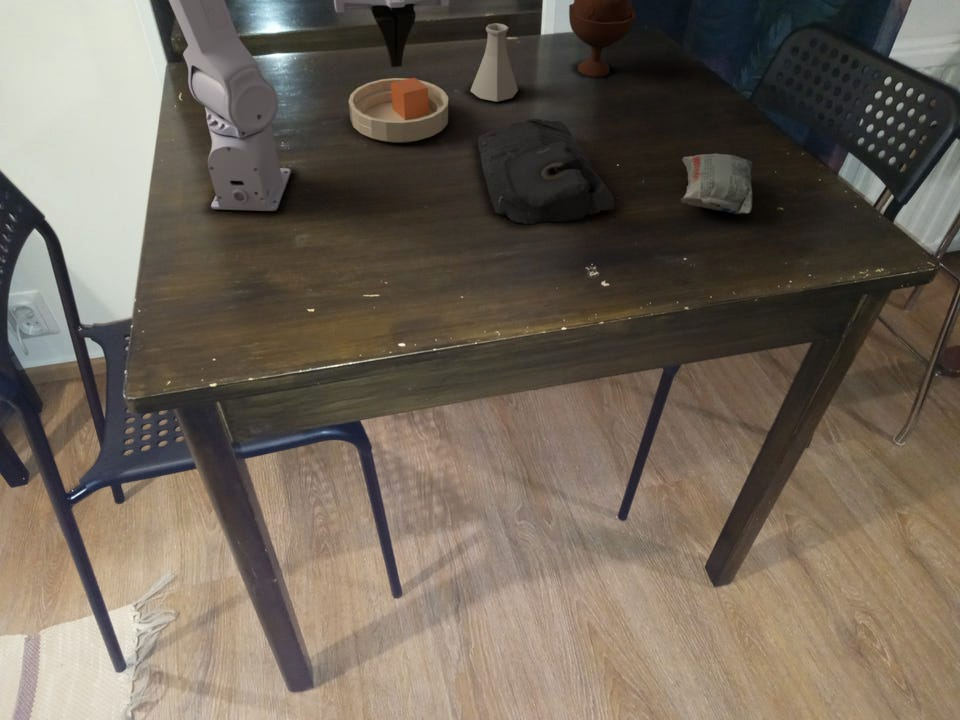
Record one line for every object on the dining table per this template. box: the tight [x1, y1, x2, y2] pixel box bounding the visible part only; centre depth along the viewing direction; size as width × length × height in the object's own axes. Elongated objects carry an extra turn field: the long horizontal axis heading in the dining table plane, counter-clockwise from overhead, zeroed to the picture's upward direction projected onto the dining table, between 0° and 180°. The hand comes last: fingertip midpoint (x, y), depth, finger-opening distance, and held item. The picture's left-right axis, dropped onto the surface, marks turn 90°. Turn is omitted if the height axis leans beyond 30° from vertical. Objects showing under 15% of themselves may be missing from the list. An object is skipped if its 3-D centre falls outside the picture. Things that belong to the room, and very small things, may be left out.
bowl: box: [348, 77, 449, 143], centre depth 102 cm, size 14×14×4 cm
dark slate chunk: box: [477, 118, 616, 225], centre depth 92 cm, size 15×22×5 cm
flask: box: [469, 22, 519, 103], centre depth 107 cm, size 7×7×10 cm
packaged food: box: [680, 153, 753, 215], centre depth 89 cm, size 9×12×5 cm
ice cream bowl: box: [568, 0, 637, 78], centre depth 113 cm, size 11×11×15 cm
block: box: [391, 77, 429, 120], centre depth 103 cm, size 4×4×4 cm
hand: (395, 63), depth 95 cm, fingers closed
